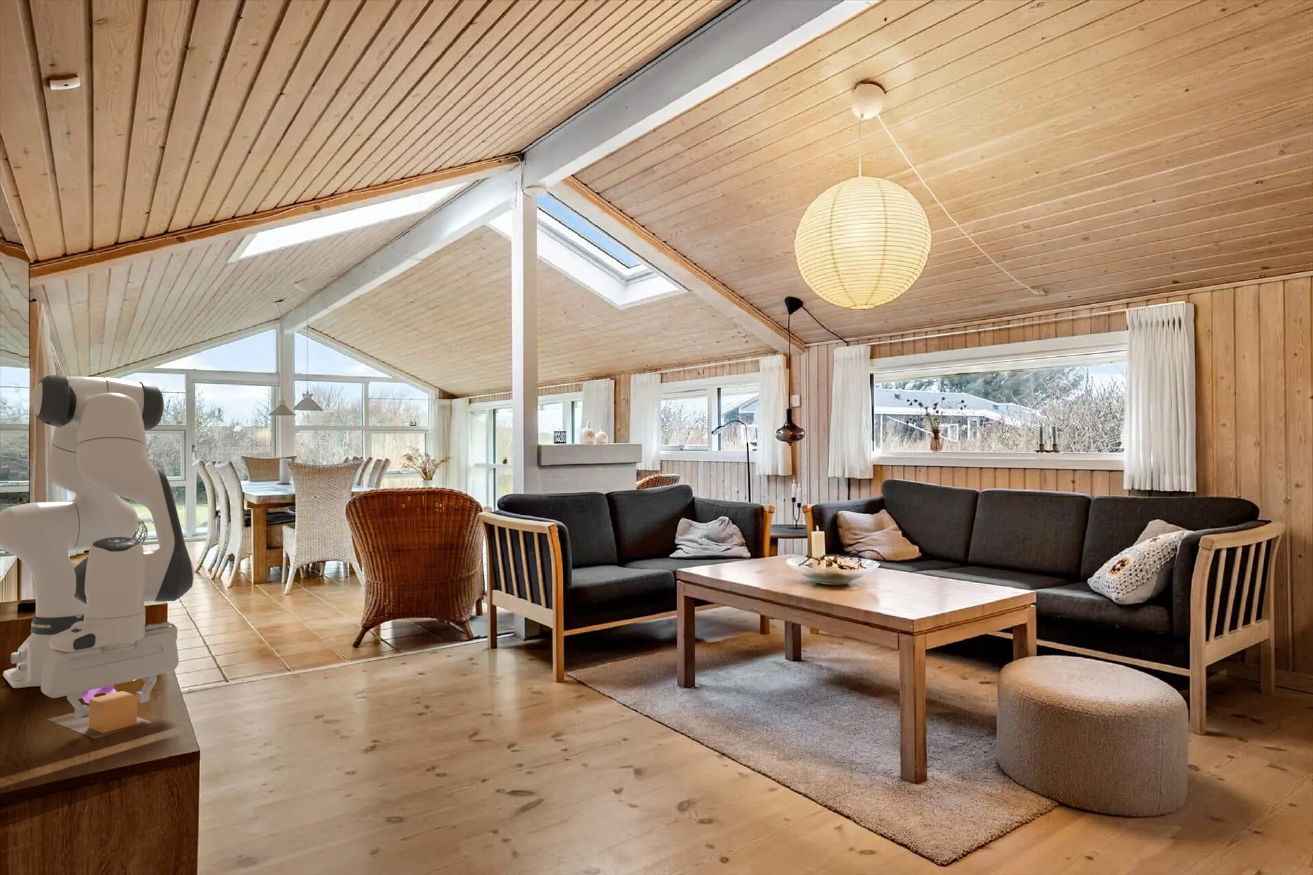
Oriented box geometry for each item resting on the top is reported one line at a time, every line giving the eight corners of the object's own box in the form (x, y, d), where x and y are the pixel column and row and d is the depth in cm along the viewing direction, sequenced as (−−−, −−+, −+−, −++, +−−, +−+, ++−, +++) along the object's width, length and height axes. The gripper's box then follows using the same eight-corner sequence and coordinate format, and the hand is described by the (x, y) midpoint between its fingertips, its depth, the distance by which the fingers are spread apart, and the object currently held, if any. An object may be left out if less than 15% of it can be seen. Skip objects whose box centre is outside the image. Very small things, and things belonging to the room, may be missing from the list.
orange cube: (88, 727, 131) (89, 698, 131) (122, 718, 135) (122, 691, 135) (103, 733, 128) (103, 703, 128) (136, 724, 133) (137, 695, 133)
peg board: (46, 726, 135) (47, 699, 135) (104, 711, 143) (104, 686, 143) (93, 745, 126) (94, 717, 126) (152, 729, 133) (152, 702, 134)
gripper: (168, 617, 143) (167, 690, 142) (37, 640, 125) (35, 723, 125) (186, 621, 139) (184, 696, 139) (54, 644, 122) (52, 730, 121)
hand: (113, 709), depth 132 cm, fingers open, 8 cm apart
